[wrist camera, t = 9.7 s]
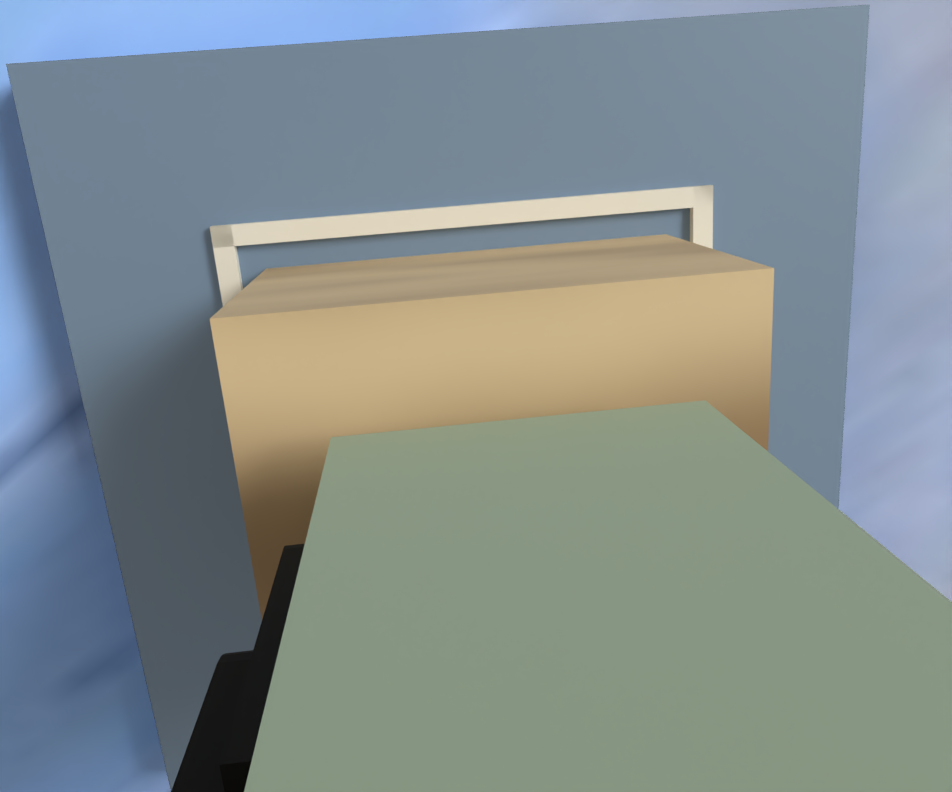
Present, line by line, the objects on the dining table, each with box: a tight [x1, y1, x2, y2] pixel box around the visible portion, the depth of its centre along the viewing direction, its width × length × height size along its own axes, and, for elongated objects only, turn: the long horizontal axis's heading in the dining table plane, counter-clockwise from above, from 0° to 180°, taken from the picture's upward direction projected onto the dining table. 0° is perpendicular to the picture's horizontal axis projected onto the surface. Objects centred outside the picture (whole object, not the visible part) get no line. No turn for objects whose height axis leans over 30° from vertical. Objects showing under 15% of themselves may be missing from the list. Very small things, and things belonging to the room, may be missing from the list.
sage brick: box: [244, 400, 952, 792], centre depth 8 cm, size 5×5×7 cm
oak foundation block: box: [210, 234, 774, 619], centre depth 15 cm, size 8×8×5 cm
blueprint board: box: [6, 5, 869, 790], centre depth 18 cm, size 16×16×1 cm
